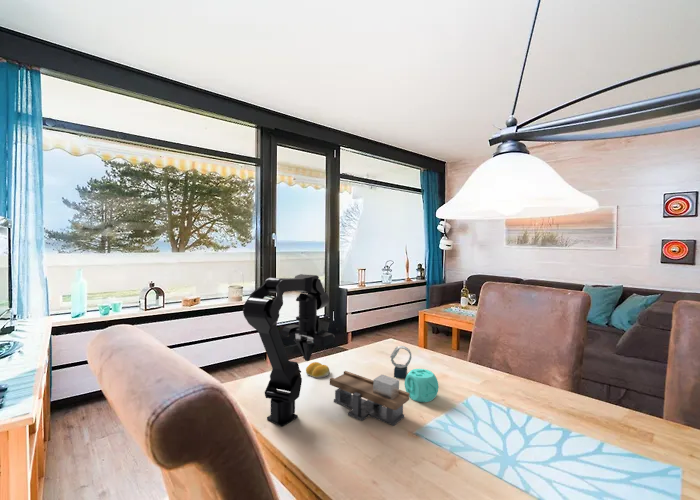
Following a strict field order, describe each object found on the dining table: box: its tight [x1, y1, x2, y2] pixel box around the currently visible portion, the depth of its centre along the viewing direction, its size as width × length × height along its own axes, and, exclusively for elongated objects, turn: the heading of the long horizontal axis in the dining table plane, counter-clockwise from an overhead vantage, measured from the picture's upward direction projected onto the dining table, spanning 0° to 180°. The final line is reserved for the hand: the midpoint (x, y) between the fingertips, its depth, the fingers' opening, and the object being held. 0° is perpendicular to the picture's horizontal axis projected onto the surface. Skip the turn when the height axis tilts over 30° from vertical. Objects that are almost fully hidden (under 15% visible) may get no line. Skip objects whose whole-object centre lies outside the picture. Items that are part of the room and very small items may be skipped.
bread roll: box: [305, 361, 330, 379], centre depth 133 cm, size 8×9×4 cm
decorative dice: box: [404, 368, 440, 403], centre depth 115 cm, size 8×8×8 cm
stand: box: [333, 388, 405, 427], centre depth 106 cm, size 22×13×7 cm, turn 52°
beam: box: [329, 370, 410, 411], centre depth 106 cm, size 24×8×2 cm, turn 52°
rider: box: [373, 374, 400, 400], centre depth 102 cm, size 6×5×4 cm
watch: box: [389, 345, 412, 380], centre depth 132 cm, size 6×8×11 cm
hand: (307, 360), depth 113 cm, fingers closed
